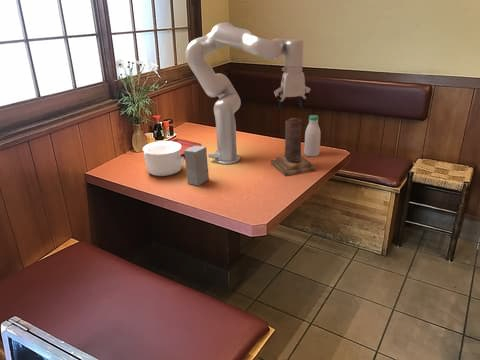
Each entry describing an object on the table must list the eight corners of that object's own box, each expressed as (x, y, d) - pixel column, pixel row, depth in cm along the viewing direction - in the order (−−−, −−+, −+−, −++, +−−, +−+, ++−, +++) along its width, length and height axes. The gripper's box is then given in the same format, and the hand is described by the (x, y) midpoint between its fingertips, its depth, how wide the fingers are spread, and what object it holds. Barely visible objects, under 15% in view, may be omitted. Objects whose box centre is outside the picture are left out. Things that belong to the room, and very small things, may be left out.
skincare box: (198, 186, 180) (196, 152, 174) (185, 183, 184) (182, 150, 177) (210, 179, 187) (207, 146, 180) (197, 176, 190) (194, 143, 184)
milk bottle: (319, 157, 207) (321, 118, 198) (303, 156, 208) (305, 118, 200) (319, 151, 214) (321, 114, 205) (304, 151, 215) (306, 113, 207)
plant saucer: (202, 149, 223) (202, 143, 222) (180, 160, 209) (180, 154, 208) (177, 143, 232) (176, 137, 231) (154, 154, 218) (154, 148, 217)
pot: (134, 174, 194) (130, 150, 189) (157, 161, 208) (154, 138, 203) (173, 182, 185) (170, 157, 180) (194, 168, 199) (192, 144, 194)
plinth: (284, 176, 188) (285, 169, 186) (270, 163, 202) (270, 156, 200) (316, 170, 193) (316, 163, 191) (300, 158, 206) (300, 151, 205)
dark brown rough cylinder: (290, 164, 191) (291, 122, 182) (281, 159, 197) (282, 118, 188) (303, 161, 194) (305, 119, 186) (294, 156, 200) (296, 115, 192)
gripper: (278, 72, 173) (277, 112, 180) (315, 69, 178) (312, 108, 185) (271, 69, 179) (270, 108, 187) (307, 66, 184) (305, 104, 192)
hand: (291, 108), depth 186 cm, fingers open, 9 cm apart
